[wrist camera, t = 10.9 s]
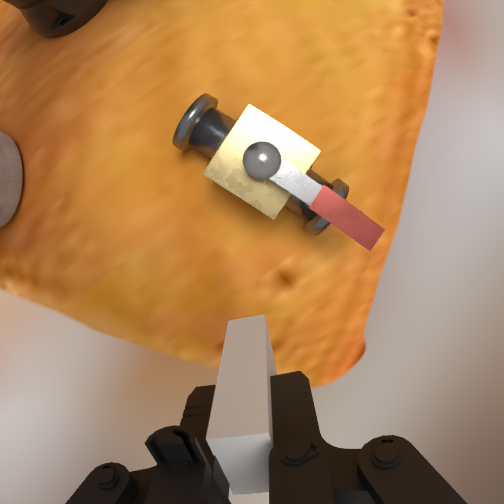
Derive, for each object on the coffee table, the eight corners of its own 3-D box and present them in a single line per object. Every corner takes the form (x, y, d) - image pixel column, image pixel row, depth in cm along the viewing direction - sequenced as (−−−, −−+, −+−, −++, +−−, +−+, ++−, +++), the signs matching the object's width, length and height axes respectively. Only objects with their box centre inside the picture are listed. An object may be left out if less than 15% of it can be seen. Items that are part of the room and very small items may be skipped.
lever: (237, 166, 29) (235, 165, 26) (256, 137, 28) (256, 133, 25) (358, 247, 30) (368, 255, 27) (376, 221, 30) (388, 226, 27)
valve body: (179, 152, 36) (159, 147, 29) (215, 96, 35) (204, 78, 27) (305, 233, 39) (317, 249, 31) (342, 179, 37) (363, 182, 29)
